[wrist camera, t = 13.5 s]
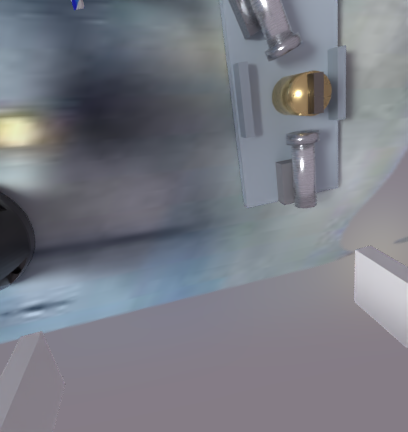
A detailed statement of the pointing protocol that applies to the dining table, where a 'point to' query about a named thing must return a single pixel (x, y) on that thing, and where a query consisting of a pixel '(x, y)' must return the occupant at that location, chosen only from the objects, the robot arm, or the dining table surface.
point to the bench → (263, 107)
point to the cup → (77, 4)
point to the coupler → (302, 94)
